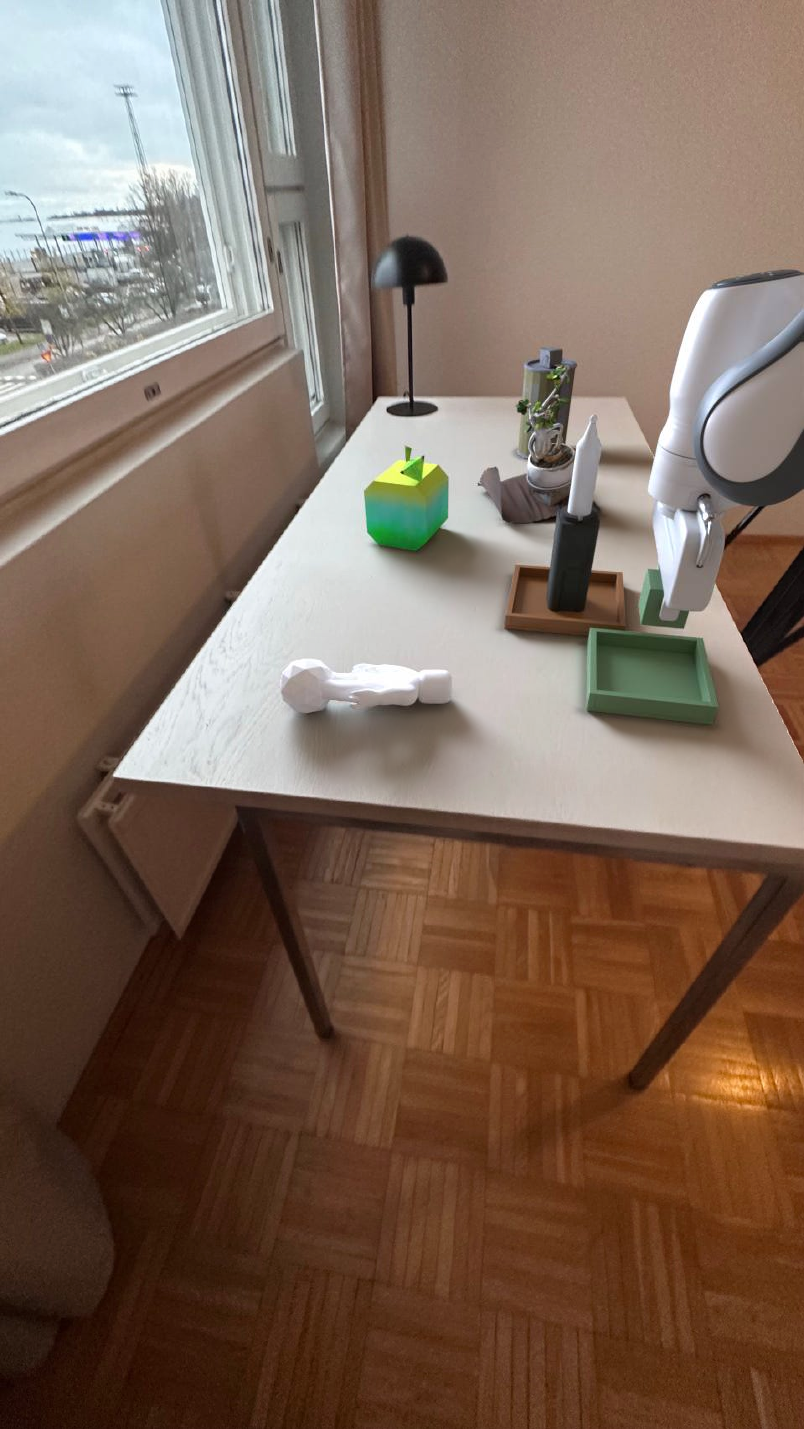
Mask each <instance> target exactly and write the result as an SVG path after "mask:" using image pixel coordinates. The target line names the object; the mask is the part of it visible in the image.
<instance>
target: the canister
mask: <svg viewBox="0 0 804 1429" xmlns="http://www.w3.org/2000/svg"><path fill="white" fill-rule="evenodd" d="M539 351H540V354H539V355H540V356H539V358H534V359H530V360H527V361H525V362H524V364H523V367H524V374H523V385H522V386H523V387H522V398H521V400H523V401H525V399H528V400H529V403H528V404H527V405H526V406H527V407H528V406H529V404H532V409H533V407H534V406H535V404H536V403H537V402H540V403H541V405H540V407H541V406H542V405H543V403H544V402H545V400H547V399H548V397H549V396H550V395H551V393H552V392H553V391H554V389H555V384H554V381H553V380H548V379H547V375H550V373H551V371H553V372H554V373H555V372H556V370H557V369H556V368H558V367H561V366H562V365H563V364H564V365H565V367H567V366H569V368H570V369H569V370H568V371H567V375H568V376H569V383H567V384H566V378H564V380H563V382H562V383H561V385H560V387H559V390H556V392H555V394H554V396H556V395H559V397H560V398H559V399H561V398H563V397H566V398H568V399H569V402H568V403H566V404H565V403H564V405H563V406H562V407H561V411H560V410H558V409H557V410H556V411H555V412H554V414H553V415H554V416H555V418H556V423H555V422H554V421H552V420H551V422H553V425H554V424H557V423H560V424H562V425H563V432H562V437H563V442H562V444H565V445H567V444H566V443H567V436H568V429H569V428H568V427H569V420H570V412H571V404H572V397H573V389H574V382H575V376H576V375H575V374H576V369H577V367H578V363H577V362H576V361H574V360H572V359H569V358H564V357H563V352H564V350H563V348H560V347H556V346H555V347H554V346H550V345H549V346H544V347H543V346H542V347H540V349H539ZM558 370H559V369H558ZM562 374H564V372H563V373H562ZM556 375H557V374H556ZM559 376H560V375H559ZM555 401H556V404H558V402H559V400H558V399H557V398H556V399H550V400H549V402H548V404H546V407H545V408H543V410H545V411H546V410H548V407H549V406H550V405H553V404H554V402H555ZM562 404H563V403H562ZM540 407H539V409H540ZM535 410H536V407H535ZM537 410H538V409H537ZM541 413H543V412H541ZM541 413H540V414H541ZM534 414H535V412H534V411H533V415H534ZM548 414H550V413H548ZM548 414H547V415H548ZM551 414H552V412H551ZM549 416H550V415H549ZM542 417H546V416H545V414H544V415H543V416H542ZM527 418H529V409H528V408H527V413H526V414H525V415H522V414H521V413H520V422H519V435H518V436H519V437H518V448H517V449H516V453H517V455H518V456H519V457H521V458H523V459H527V460H528V458H529V455H530V452H529V450H528V444H529V440H530V438H531V436H532V435H533V434H532V432H530V431H529V432H527V433H526V432H525V431H524V430H525V428H526V427H527V426H528V425H527V424H526V422H525V421H526V419H527ZM550 419H551V417H550V418H549V419H548V420H550ZM536 421H537V419H536ZM542 427H544V426H542ZM545 428H546V427H545ZM552 430H558V431H559V432H560V429H552ZM552 430H550V431H552ZM557 438H558V435H557V437H555V438H554V439H550V440H551V443H557ZM532 448H533V450H534V443H533V446H532Z"/></svg>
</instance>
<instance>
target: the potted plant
mask: <svg viewBox="0 0 804 1429" xmlns="http://www.w3.org/2000/svg"><path fill="white" fill-rule="evenodd" d="M556 369H557V370H556V372H555V373H554V372H553V371H551V373H550V375H547V379H548V380H553V381H554V384H555V389H554V391H553V392H552V393H551V395H550V396H549V397H548V399H547V400H545V402H544V403H543V405H542V406H541V407H540V405H541V403H540V402H537V403H536V404H535V406H534V407H533V409H532V404H529V406H528V407H527V406H526V405H527V404H528V403H529V400H528V399H525V401H523V400H522V399H520V400H519V401H518V402H517V403H516V404H515V405H514V407H515V408H516V412H517V414H520V415H521V414H522V415H525V414H526V413H527V408H528V409H529V418H527V419H526V421H525V422H526V424H527V425H528V426H527V427H526V428H525V430H524V431H525V432H526V433H527V432H529V431H530V432H532V434H533V435H532V436H531V438H530V440H529V444H528V450H529V452H530V455H529V458H528V459H527V466H526V472H527V473H523V474H519V475H516V476H512V477H510V478H506V479H504V480H501V477H500V476H501V475H500V471H499V468H498V467H497V466H492V467H487V468H486V470H484V471H483V472H482V474H481V476H480V479H479V482H477V487H483V488H484V490H485V491H486V493H487V494H488V495H489V497H490V498H491V500H492V501H493V503H494V505H495V507H496V509H497V511H498V512H499V514H500V516H501V519H502V521H503V522H505V523H507V524H509V523H512V524H516V525H518V524H527V523H528V524H529V523H533V522H539V521H541V520H547V519H549V518H551V517H552V518H553V517H557V512H558V510H560V509H562V508H563V507H564V506H567V505H568V504H569V497H570V490H571V483H572V476H573V469H574V462H575V455H576V451H575V449H574V448H573V447H572V446H571V445H568V444H562V442H563V437H562V432H563V425H562V424H560V423H557V424H554V425H553V422H551V420H552V421H554V422H555V423H556V418H555V416H554V415H553V414H554V412H555V411H556V410H557V409H558V410H560V411H561V407H562V406H563V405H564V403H565V404H566V403H568V402H569V399H568V398H566V397H563V398H561V399H559V398H560V397H559V395H556V396H554V394H555V392H556V390H559V387H560V385H561V383H562V382H563V380H564V378H566V384H567V383H569V376H568V375H567V371H568V370H569V369H570V368H569V366H567V367H565V365H564V364H563V365H562V366H561V367H558V368H556ZM558 369H559V370H558ZM563 372H564V374H562V373H563ZM556 374H557V375H556ZM559 375H560V376H559ZM556 398H557V399H558V400H559V402H558V404H556V401H555V402H554V404H553V405H550V406H549V407H548V410H546V411H545V410H543V408H545V407H546V404H548V402H549V400H550V399H556ZM562 403H563V404H562ZM535 407H536V410H535ZM539 407H540V409H539ZM537 409H538V410H537ZM533 411H534V412H535V414H534V415H533ZM541 412H543V413H541ZM551 412H552V414H551ZM540 413H541V414H540ZM548 413H550V414H548ZM544 414H545V416H546V417H542V416H543V415H544ZM547 414H548V415H547ZM549 415H550V416H549ZM550 417H551V419H550V420H548V419H549V418H550ZM536 419H537V421H536ZM542 426H544V427H542ZM545 427H546V428H545ZM552 429H560V432H559V431H558V430H552ZM550 430H552V431H550ZM557 435H558V438H557V443H551V440H550V439H554V438H555V437H557ZM533 443H534V450H533V448H532V446H533ZM592 507H593V508H595V509H596V510H597V511H602V509H601V507H600V506H599V505H598V504H597V502H596V501H595V500H594V499H593V503H592Z"/></svg>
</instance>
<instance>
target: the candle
mask: <svg viewBox="0 0 804 1429" xmlns="http://www.w3.org/2000/svg"><path fill="white" fill-rule="evenodd" d="M597 421H598V416H597V415H596V414H592V415H591V416H590V417H589V423H588V425H587V428H586V430H585V432H584V434H583V437H582V438H581V439H580V440H579V441H578V442H577V444H576V449H575V462H574V469H573V476H572V483H571V490H570V497H569V504H568V505H567V506H564V507H563V508H562V509H560V510H558V512H557V516H556V517H555V518H556V519H555V526H554V535H553V543H552V549H551V558H550V564H549V567H550V572H549V579H548V587H547V595H546V599H547V606H548V609H549V610H551V611H555V612H558V611H575V612H581V611H583V610H584V609H585V604H586V599H587V593H588V587H589V582H590V576H591V571H592V570H593V564H594V559H595V553H596V548H597V542H598V536H599V531H600V526H601V520H600V518H599V513H598V511H599V510H596V509H595V508H593V507H592V503H593V500H594V497H595V496H594V495H595V490H596V485H597V478H598V473H599V466H600V462H601V454H602V448H603V445H602V442H601V440H600V438H599V436H598V428H597Z"/></svg>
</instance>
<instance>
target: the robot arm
mask: <svg viewBox="0 0 804 1429" xmlns="http://www.w3.org/2000/svg"><path fill="white" fill-rule="evenodd" d="M652 462H653V463H652V468H651V472H650V476H649V480H648V485H647V492H648V494H649V495H650V497H651V498H653V506H652V519H651V520H652V521H651V522H652V529H653V535H654V541H655V547H656V552H657V558H658V559H657V570H660V572H661V578H662V584H663V590H664V598H663V599H662V600H661V603H660V607H659V616H660V619H661V620H666V621H675V620H676V619H677V618H678V615H679V612H680V610H682V611H689V612H703V611H704V610H705V609H706V608H707V607H708V606H709V604H710V602H711V599H712V596H713V592H714V590H715V585H716V582H717V579H718V574H719V571H720V567H721V563H722V559H723V555H724V550H725V543H726V534H725V529H724V527H723V523H722V521H721V520H722V519H723V518H724V517H725V515H726V512H727V511H728V510H733V509H736V508H737V507H739V506H741V505H742V506H747V507H769V506H773V505H777V504H780V503H783V502H785V501H787V500H789V499H791V498H793V497H795V496H796V495H798V494H799V493H800V492H802V491H803V490H804V272H803V271H800V270H798V269H791V268H790V269H787V268H786V269H776V270H769V271H768V270H767V271H763V272H756V273H751V274H745V275H740V276H736V277H729V278H725V279H722V280H719V281H717V282H715V283H714V284H712V285H710V286H709V288H707V289H706V290H705V291H704V292H703V293H702V294H701V296H700V297H699V298H698V300H697V302H696V304H695V306H694V307H693V310H692V312H691V315H690V317H689V320H688V323H687V326H686V328H685V331H684V333H683V338H682V341H681V344H680V348H679V351H678V355H677V359H676V363H675V367H674V371H673V375H672V379H671V383H670V388H669V413H668V417H667V420H666V422H665V424H664V426H663V428H662V429H661V432H660V434H659V437H658V441H657V446H656V449H655V454H654V458H653V461H652Z"/></svg>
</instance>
